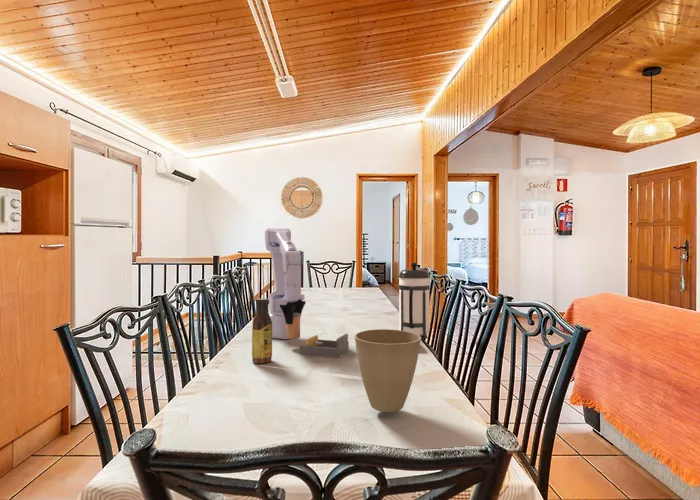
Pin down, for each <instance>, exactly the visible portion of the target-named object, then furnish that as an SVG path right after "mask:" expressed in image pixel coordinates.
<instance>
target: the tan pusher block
mask: <svg viewBox="0 0 700 500" xmlns="http://www.w3.org/2000/svg"><path fill="white" fill-rule="evenodd" d="M318 339H319V335H318V334H315V335H313V336H311V337H309V338H307V339H306V340H305V346H315V347H316V346H317V345H323V342H318Z"/></svg>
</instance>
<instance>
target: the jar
mask: <svg viewBox="0 0 700 500" xmlns="http://www.w3.org/2000/svg"><path fill="white" fill-rule="evenodd" d="M286 338H288V339H289V340H291V339H292V340H293V339H294V340H295V339H299V338H301V318H300V313H299V312H294V315H293V323H292V324H286Z"/></svg>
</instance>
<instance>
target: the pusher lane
mask: <svg viewBox="0 0 700 500" xmlns="http://www.w3.org/2000/svg"><path fill="white" fill-rule="evenodd" d="M318 342H323V345H317V346H316V347H315V346H306V345H301V344H300V345H299V349H298V350H299V355H306V356H316V357H317V356H318V357H324V358H326V357H327V358H336V359H337V358H340V357H341V356H342V355H344V354H345V353H346V352H348V351H349V350H350V349H349V348H350V346H349V345H350V343H349V334H348V333H344V334H342V335H341V336H339V337H338V338H336V340H330V339H329V340H328V339H319V338H318Z"/></svg>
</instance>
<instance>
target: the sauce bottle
mask: <svg viewBox="0 0 700 500" xmlns="http://www.w3.org/2000/svg"><path fill="white" fill-rule="evenodd" d="M255 305H256V310H255V315H254V317H253V319H252V328H251V331H252V332H251V357H252V363H253V364H261V365H263V364H266V363H267V364H268V363H270V362H272V356H273V338H272V321H271V318H270V315H269V314H270V313H269V312H270V311H269V298H256V299H255Z"/></svg>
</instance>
